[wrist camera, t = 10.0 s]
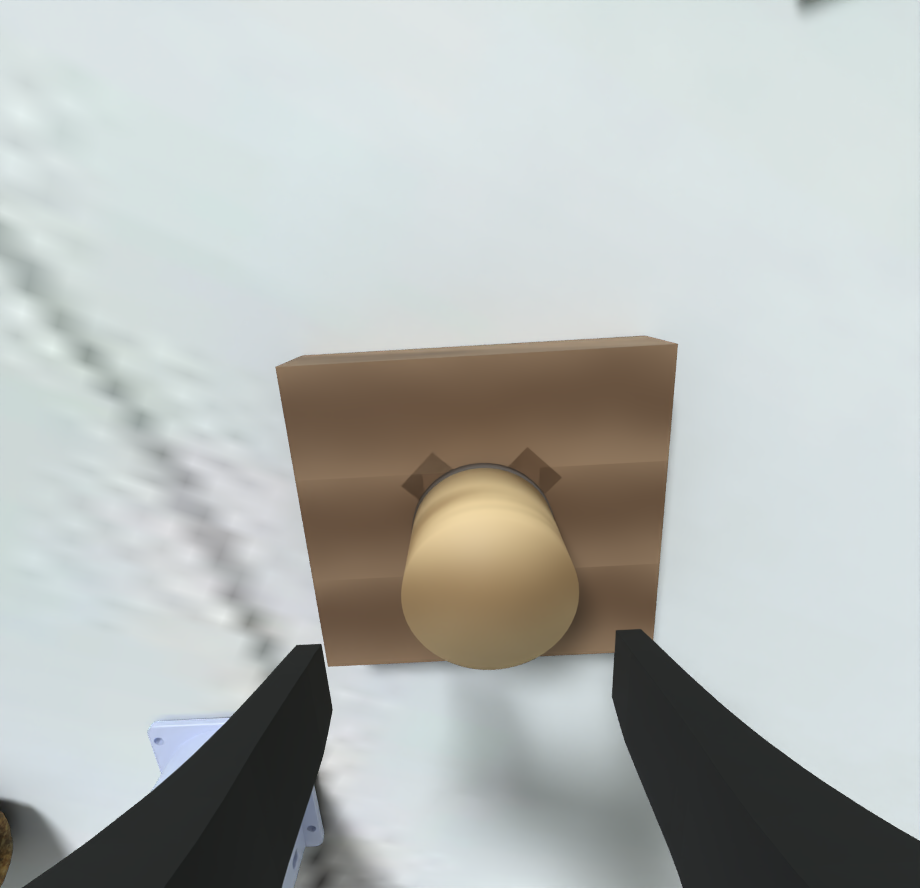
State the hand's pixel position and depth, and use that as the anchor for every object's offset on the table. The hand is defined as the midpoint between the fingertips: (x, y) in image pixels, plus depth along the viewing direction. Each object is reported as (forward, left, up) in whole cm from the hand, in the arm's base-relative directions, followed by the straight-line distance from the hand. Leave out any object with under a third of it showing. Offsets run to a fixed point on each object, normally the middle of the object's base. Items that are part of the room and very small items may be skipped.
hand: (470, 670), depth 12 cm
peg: (0, -1, -10) cm, 10 cm away
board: (0, -1, -10) cm, 10 cm away
